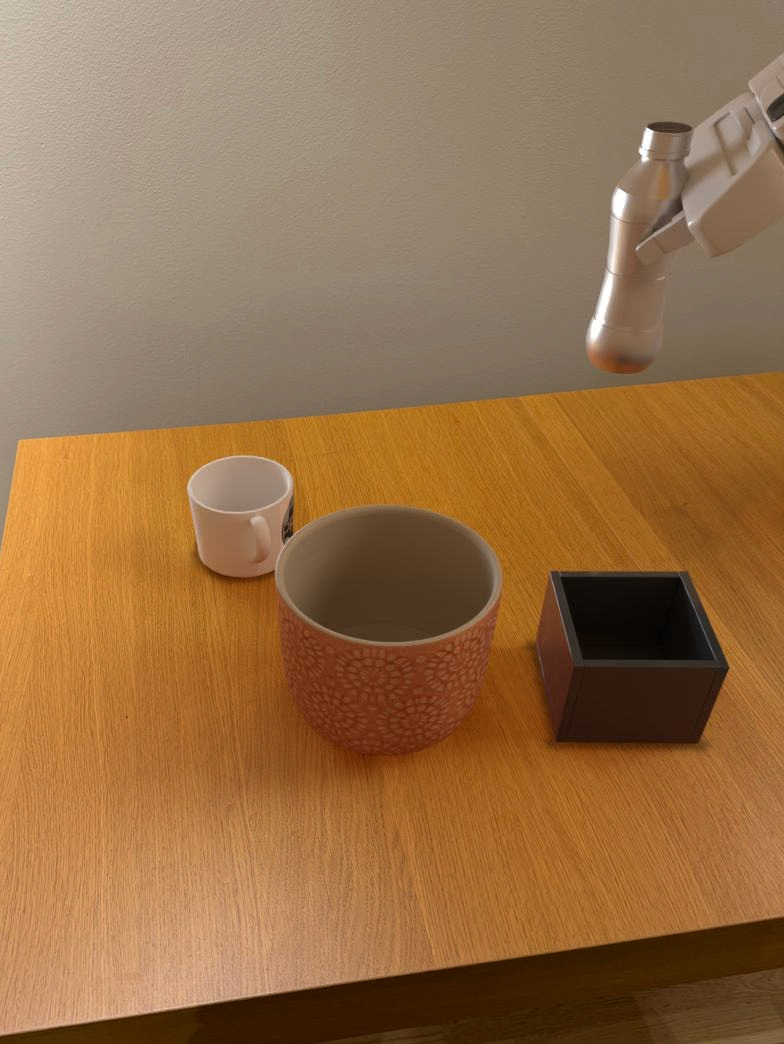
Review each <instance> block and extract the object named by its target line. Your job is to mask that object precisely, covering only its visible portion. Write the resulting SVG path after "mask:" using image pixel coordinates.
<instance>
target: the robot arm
mask: <svg viewBox="0 0 784 1044" xmlns="http://www.w3.org/2000/svg"><path fill="white" fill-rule="evenodd" d="M747 84H748V87H749V89H750V90H751V91H747V92H744V93H742V94H739V95H738V96H737V97H735V98H734V99H732V100H730V101H729V102H728V103H726V104H725V105H724V106H722V107H720V109H718V110H717V111H715V112H714V113H713V114H711V115H710V116H709V117H708V118H706V119H705V120H704V121H702V122H701V123H699V125H697V126H696V127H694V133H693V137H692V141H691V145H690V147H691V151H690V154H689V156H687V157H685V159H684V163H685V166H686V168H687V170H688V172H689V179H688V181H687V183H686V184H685V186H684V188H683V190H682V192H681V201H682V205H683V209H684V210H682V211H681V212H680V213H679V214H677V215H676V216H675V217H673V218H672V222H671V223H669V224H667V225H666V226H664V227H663V228H661V229H659V230H658V231H656V232H655V233H653V232H651V233H650V234H648V235H647V236H645V237H644V238H643V239H641V240H639V241H638V242H637V243H636V247H635V249H636V256H637V257H638V258H639V259H640V261H641V262H642V263H643V265H645V266H649V265H651V264H653V263H654V262H655V261H657V260H658V259H659V258H661V257H662V256H663V255H665V254H667V253H670V252H672V251H675V250H677V249H678V250H680V249H682V248H685V247H687V246H689V245H690V244H691V243H693V242H694V241H696V242H697V244H699V246H700V247H701V248H702V250H703V251H704V253H705V254H706V255H707V256H708V257H709V258H717V257H721V256H723V255H726V254H729V253H731V252H734V250H736V249H738V248H740V247H741V246H743V245H744V244H746V243H748V242H750V241H751V240H753V239H754V238H756V237H757V236H759V235H760V234H762V233H763V232H765V231H767V230H768V229H769V228H771V227H772V226H773V225H775V224H777V223H778V222H779V221H781V220H782V219H784V52H782V53H781V54H780V55H779V56H777V57H776V58H775V59H774V60H773V61H772V62H770V63H769V64H767V66H766V67H764V68H763V69H761V70H760V71H759V72H758V73H757V74H756V75H755V76H753V77H752V78H751V79H749V80H748V83H747Z"/></svg>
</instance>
